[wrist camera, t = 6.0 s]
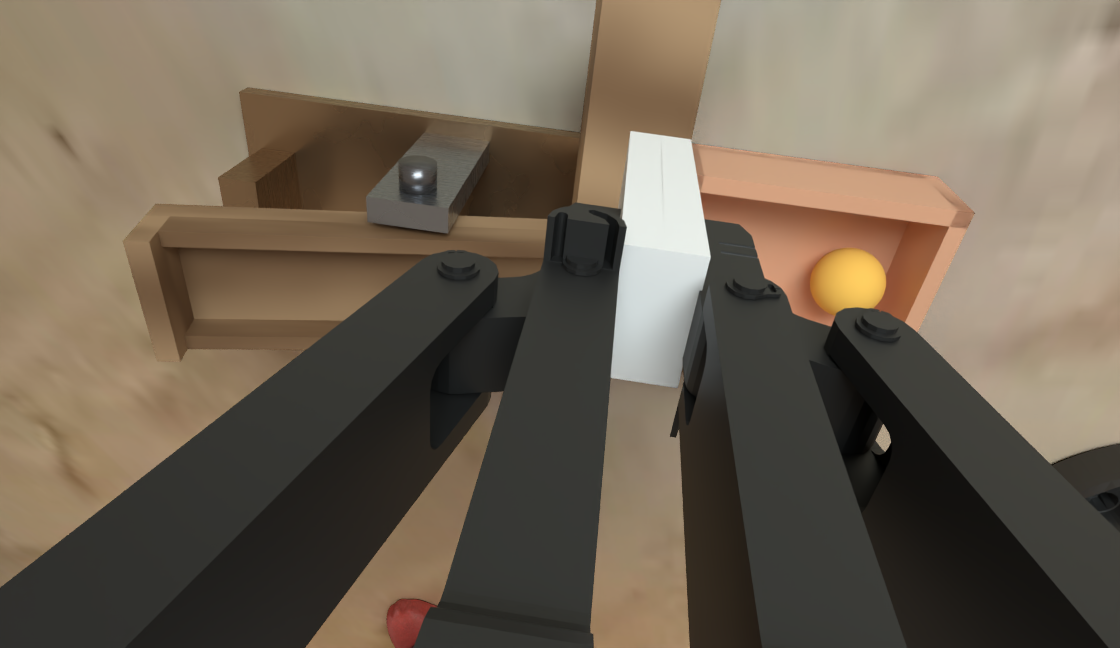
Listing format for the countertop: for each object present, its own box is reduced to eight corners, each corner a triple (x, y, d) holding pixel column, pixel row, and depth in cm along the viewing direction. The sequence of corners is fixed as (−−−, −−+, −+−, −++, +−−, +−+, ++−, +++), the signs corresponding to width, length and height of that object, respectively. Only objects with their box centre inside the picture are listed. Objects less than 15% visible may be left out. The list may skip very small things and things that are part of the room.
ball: (883, 333, 30) (816, 329, 30) (853, 296, 33) (791, 292, 33) (911, 271, 29) (839, 267, 28) (877, 237, 31) (811, 233, 31)
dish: (863, 347, 35) (886, 396, 32) (646, 316, 35) (646, 361, 32) (937, 176, 30) (974, 212, 26) (682, 142, 30) (687, 173, 27)
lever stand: (644, 317, 35) (643, 423, 28) (274, 264, 36) (185, 355, 29) (680, 139, 30) (691, 215, 23) (246, 80, 31) (129, 137, 24)
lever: (643, 323, 31) (660, 363, 28) (184, 317, 27) (157, 361, 25) (714, -16, 23) (745, -3, 20) (85, -80, 20) (33, -72, 17)
